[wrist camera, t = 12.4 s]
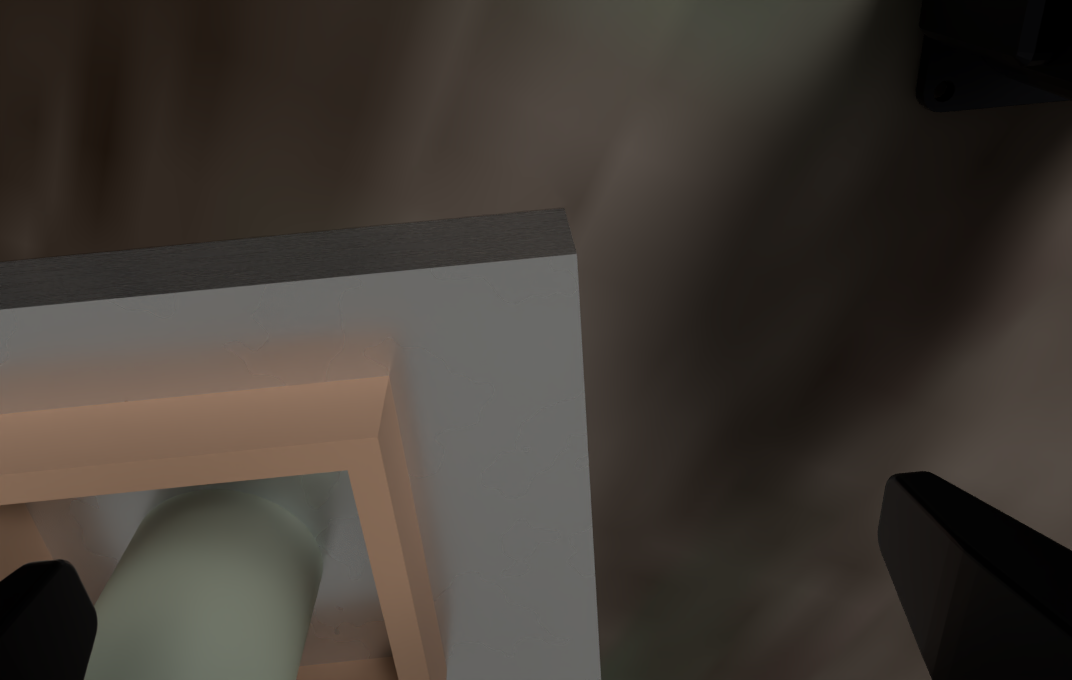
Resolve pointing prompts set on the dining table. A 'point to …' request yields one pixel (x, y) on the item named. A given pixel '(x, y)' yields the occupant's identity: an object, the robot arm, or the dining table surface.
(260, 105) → the dining table surface
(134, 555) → the spout can
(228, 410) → the grey board with frame
